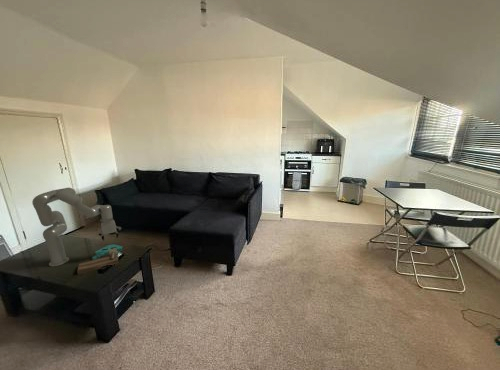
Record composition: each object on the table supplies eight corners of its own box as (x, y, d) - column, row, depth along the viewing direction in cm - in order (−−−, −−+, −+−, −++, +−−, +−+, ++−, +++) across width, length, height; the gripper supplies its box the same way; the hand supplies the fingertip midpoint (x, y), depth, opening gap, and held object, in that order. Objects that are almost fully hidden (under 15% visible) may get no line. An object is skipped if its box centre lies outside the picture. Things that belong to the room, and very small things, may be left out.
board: (80, 266, 169) (79, 263, 169) (118, 257, 182) (117, 253, 182) (77, 274, 159) (77, 271, 159) (118, 263, 172) (117, 260, 172)
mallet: (110, 256, 183) (109, 249, 182) (117, 255, 186) (116, 247, 184) (110, 264, 172) (108, 256, 170) (117, 262, 174) (116, 254, 173)
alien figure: (119, 255, 187) (123, 244, 205) (119, 252, 186) (123, 242, 204) (92, 260, 179) (98, 249, 197) (92, 257, 179) (98, 247, 197)
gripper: (94, 223, 168) (97, 243, 172) (119, 219, 177) (122, 238, 180) (95, 220, 174) (98, 239, 178) (119, 216, 183) (122, 234, 187)
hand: (110, 238), depth 179 cm, fingers open, 9 cm apart
